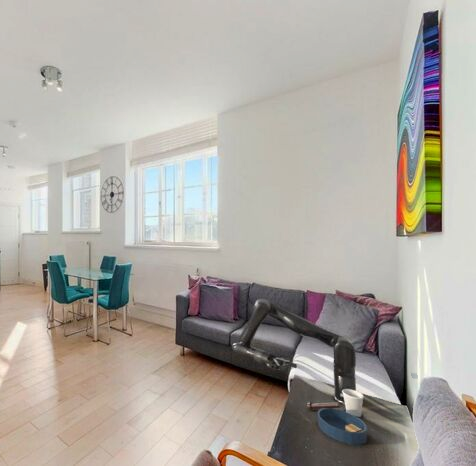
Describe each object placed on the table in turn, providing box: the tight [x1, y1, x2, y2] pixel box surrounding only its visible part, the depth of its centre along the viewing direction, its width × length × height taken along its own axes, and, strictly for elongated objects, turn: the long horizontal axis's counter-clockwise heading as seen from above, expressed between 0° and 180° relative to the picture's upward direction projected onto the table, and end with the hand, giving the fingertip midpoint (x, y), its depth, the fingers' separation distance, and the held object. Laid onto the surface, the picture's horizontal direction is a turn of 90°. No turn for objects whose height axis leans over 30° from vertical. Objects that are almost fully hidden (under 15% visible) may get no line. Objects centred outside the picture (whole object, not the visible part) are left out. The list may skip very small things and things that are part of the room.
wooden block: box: [345, 424, 362, 432], centre depth 121 cm, size 4×4×4 cm
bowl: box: [317, 408, 368, 446], centre depth 125 cm, size 17×17×6 cm
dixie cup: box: [342, 389, 365, 418], centre depth 138 cm, size 8×8×10 cm
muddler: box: [306, 401, 342, 411], centre depth 136 cm, size 4×4×15 cm
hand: (291, 368), depth 149 cm, fingers open, 8 cm apart
